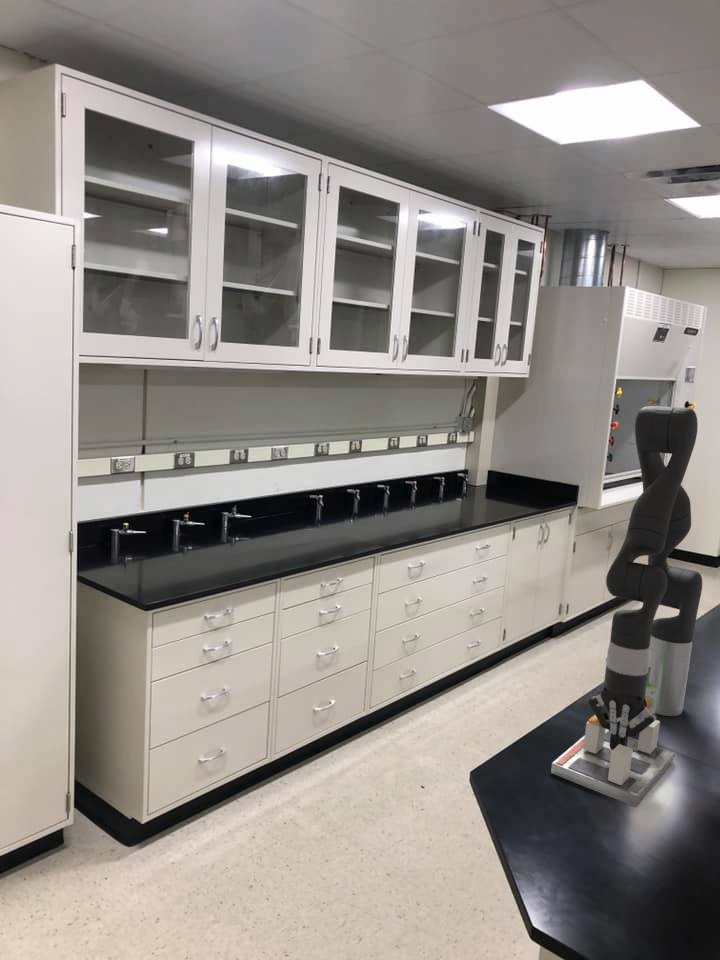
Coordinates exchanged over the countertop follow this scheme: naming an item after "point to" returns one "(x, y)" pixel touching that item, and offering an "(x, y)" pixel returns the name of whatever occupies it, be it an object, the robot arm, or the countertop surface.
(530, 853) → the countertop surface
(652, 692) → the ink box
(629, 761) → the breaker near
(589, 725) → the block
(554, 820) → the countertop surface
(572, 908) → the countertop surface
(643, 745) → the block
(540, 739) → the countertop surface
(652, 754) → the panel
